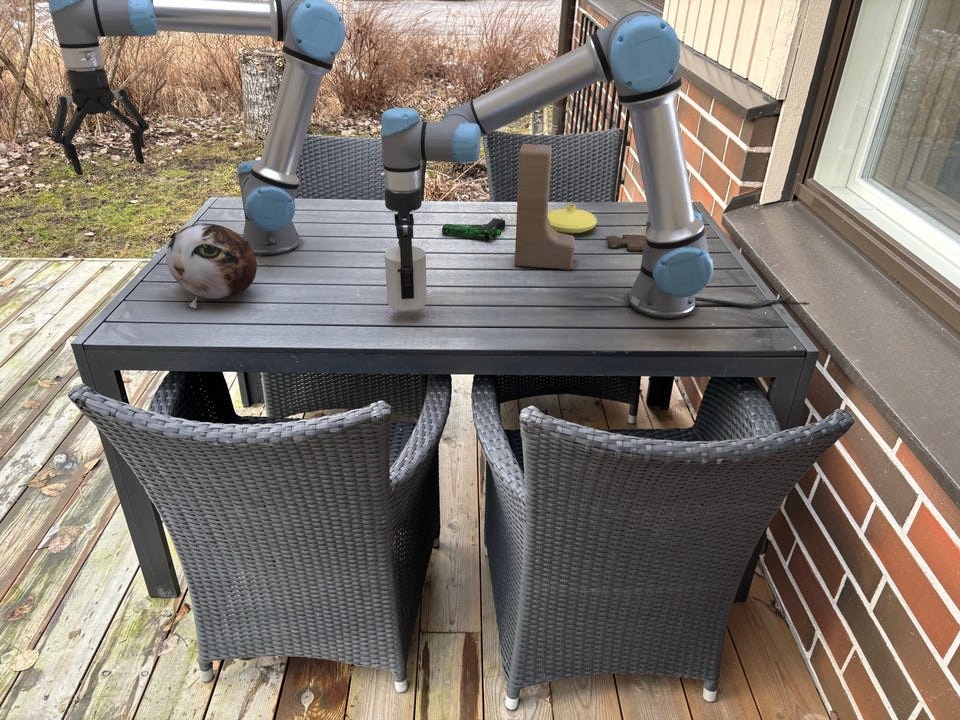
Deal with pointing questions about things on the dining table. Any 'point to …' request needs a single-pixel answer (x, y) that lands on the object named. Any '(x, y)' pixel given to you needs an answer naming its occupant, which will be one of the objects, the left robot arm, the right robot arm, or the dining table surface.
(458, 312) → the dining table surface
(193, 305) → the cat face balloon
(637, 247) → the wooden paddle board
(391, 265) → the canister
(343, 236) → the dining table surface
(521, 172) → the decorative block
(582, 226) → the yellow pot lid
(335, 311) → the dining table surface
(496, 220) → the handgun
